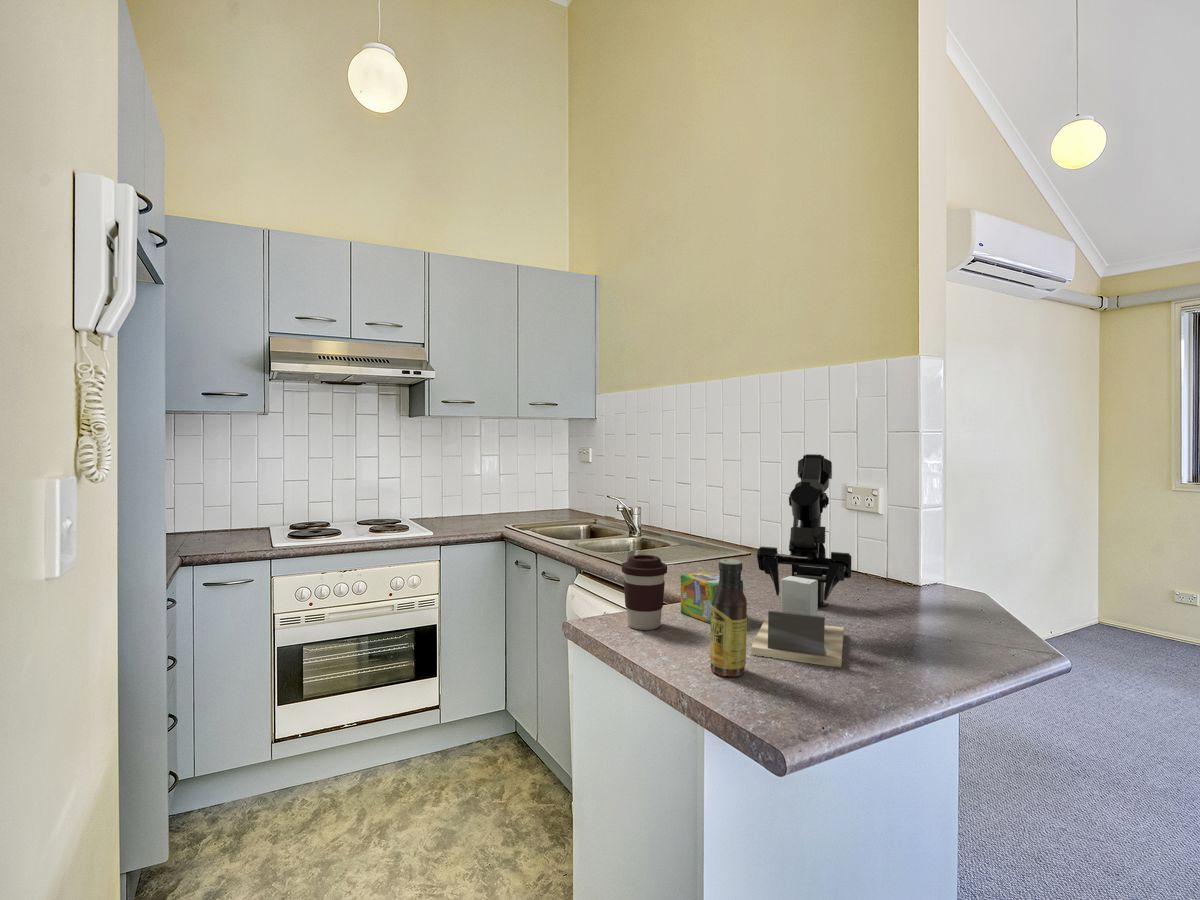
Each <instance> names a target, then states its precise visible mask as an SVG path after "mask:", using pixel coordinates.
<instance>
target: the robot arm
mask: <svg viewBox="0 0 1200 900" xmlns="http://www.w3.org/2000/svg"><path fill="white" fill-rule="evenodd" d="M832 464H833V462H832V461H831V460H829V459H827V458H825V456H824V455H822V454H812V453H811V454H810V453H809V454H807V453H806V454H804V455H803V456H802V458H800V459H799V460H798V461H797V477H798V479H800V481H798V482H797V483H795V486H794V488H793V489H792V491H790V494H789V496H788V505H789V506H790V508H791V513H792V516H793V522H792V527H790V538H789V541H788V542H789V545H788V551H789V552H790V554H784V553H778V547H771V546H760V547H759V548H758V549H757V552H756V558H757V564H758V570H760V571H763V572H764V573H765V574H766V575H769V577H770V579H771V581H772V583H773V587H774V590H775V595H776V596H778V597H779V595H780V574H779V573H780V572H779V564H780V565H790V566H791V576H794V577H801V578H806V579H813V580H818V608H823V607H828V606H830V604H829V602H825V601H827V600H828V598H829V596H830V595H831V593H832V591H833V590H834V588H835V587H836V585H838V583H839V582H843V581H845V579H850V578H852V558H853V557H852V555H851V553H849V552H839V551H836V552H835V551H831V552H830V558H829V557H827V553H826V547H825V545H824V544H826V526H821V524H822V513H824V512H823V511H824V509H827V507H828V505H829V504H830V498H829V496H828V495H827V493H826V491H827V490H828V489H829V486H830V480H832V479H833V465H832Z"/></svg>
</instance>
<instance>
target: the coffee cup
mask: <svg viewBox="0 0 1200 900" xmlns="http://www.w3.org/2000/svg"><path fill="white" fill-rule="evenodd" d="M621 572H622V574H624V580H623V586H624V587H623V588H624V589H623V590H624V604H625V608H626V623H627V626H629V627H630V628H631V629H635V630H638V629H639V630H638V631H651V630H655V629H658V628H659V627H660V626H661V624H662V610H663V607H664V596H665V586H666V585H665V575H666V574H667V573H668V564H666V563H664V562H662V560H661V558H660V557H659V556H657V555H653V554H635V555H631V556H629V557H628V559H627V561H625V562H623V563H622V564H621Z"/></svg>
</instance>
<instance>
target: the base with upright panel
mask: <svg viewBox="0 0 1200 900" xmlns="http://www.w3.org/2000/svg"><path fill="white" fill-rule="evenodd" d="M767 614H768V615H767V618H766V617H765V618H764V620H763V623H762V624H761V626H760V628H759V630H758V633H757V635H756V637H755V638H754V640H753V642H752V644H751V647H750V655H751V656H755V655H756V656H757V657H762V656H764V657H765V658H770V657H772V659H777V658H778V659H777V660H785V661H791V662H798V663H805V664H813V665H821V666H826V667H833V668H839V669H840V668H842V663H843V662H842V659H843V645H844V626H843V627H842V626H835V625H826V624H825V619H826V617H825V616H821V615H818V616H813V615H804V614H795V613H786V612H781V611H775V610H768V611H767Z"/></svg>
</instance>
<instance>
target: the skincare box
mask: <svg viewBox="0 0 1200 900" xmlns="http://www.w3.org/2000/svg"><path fill="white" fill-rule="evenodd" d="M780 612H786V613H795V614H804V615H813V616H819V615H818V612H819V611H818V580H813V579H806V578H801V577H794V576H792V575H789V576H786V577H784V578H781V579H780Z"/></svg>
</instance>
